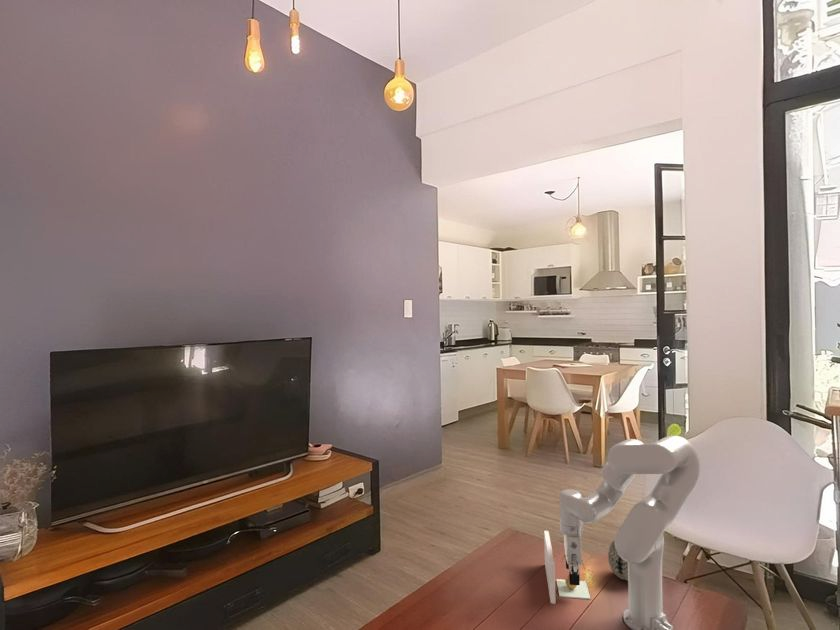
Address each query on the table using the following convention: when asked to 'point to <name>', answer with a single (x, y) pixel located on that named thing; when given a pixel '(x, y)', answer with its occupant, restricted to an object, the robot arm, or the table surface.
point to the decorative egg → (617, 563)
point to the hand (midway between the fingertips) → (572, 576)
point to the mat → (573, 590)
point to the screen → (549, 567)
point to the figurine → (568, 576)
